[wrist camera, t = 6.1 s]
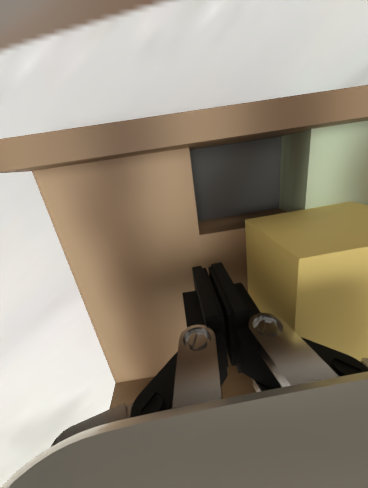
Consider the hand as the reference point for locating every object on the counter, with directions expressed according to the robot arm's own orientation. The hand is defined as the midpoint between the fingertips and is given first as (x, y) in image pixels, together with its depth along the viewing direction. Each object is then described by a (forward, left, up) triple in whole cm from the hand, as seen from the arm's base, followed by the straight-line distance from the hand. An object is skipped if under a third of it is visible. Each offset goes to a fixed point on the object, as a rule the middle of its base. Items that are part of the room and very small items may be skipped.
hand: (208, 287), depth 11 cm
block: (-6, 0, -1) cm, 6 cm away
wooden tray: (-4, 0, -4) cm, 6 cm away
